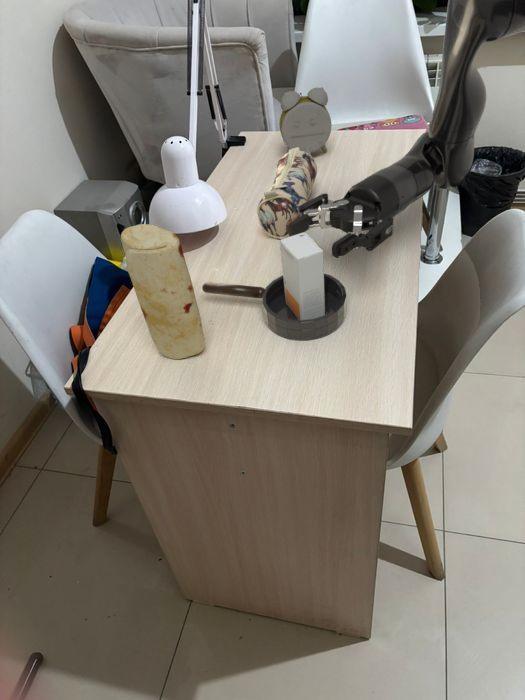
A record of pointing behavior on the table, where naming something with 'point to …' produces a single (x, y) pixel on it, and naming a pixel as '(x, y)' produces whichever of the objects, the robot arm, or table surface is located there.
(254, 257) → the table surface
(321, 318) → the frying pan
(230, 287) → the pan handle
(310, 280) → the cosmetic box
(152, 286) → the food model
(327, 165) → the table surface
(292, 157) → the pencil case
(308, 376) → the table surface
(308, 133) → the alarm clock
